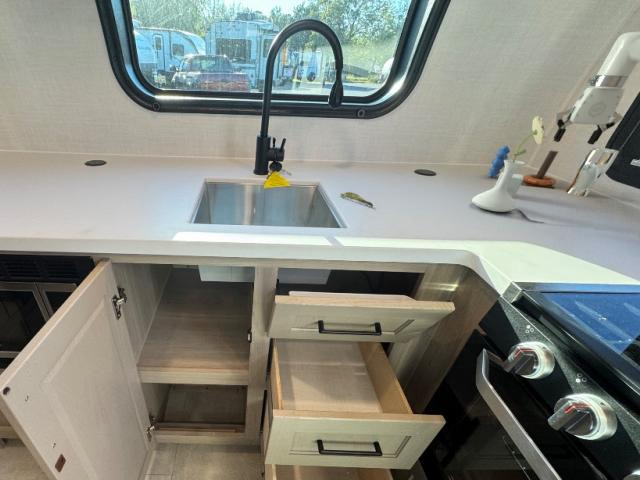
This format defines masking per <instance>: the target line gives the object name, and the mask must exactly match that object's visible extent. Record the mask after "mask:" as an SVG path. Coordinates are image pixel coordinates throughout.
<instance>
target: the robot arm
mask: <svg viewBox="0 0 640 480" xmlns="http://www.w3.org/2000/svg"><path fill="white" fill-rule="evenodd" d="M639 62H640V31H629V32H624V33H622V34H620V35H619V36H618V38H617V39H616V40H615V42H614V44H613V45H612V47H611V49H610V51H609V52H608V54H607V56H606V58H605V60H604V61H603V63H602V65H601V66H600V68H599V70H598V72H597V74H596V75H595V76H594V77H590V78H588V80H587V82H586V83H587V84H590V85H589V87H586V88H585V89H584V91H583V92H582V93H581V95H580V96H579V97H578V99H577V100H576V102H575V103H574V105H573V106H572V107H571V108H569V109H565V110H563V111H560V112H557V113H556V115H555V116H556V117H555V119H556V121H555V123H556V125H557V128H558V129H557V130H556V132H555V134H554V136H553V141H554V142H556V143H559V142H560V141H561V140H562V138H563V137H564V135H565V133H566V131H567V127H569V126H571V125H573V124H578V125H592V126H596V129H595V130H593V132H592V133H591V135H590V137H589V139H588V140H587V143H586V144H588V145H595V143H596V142H598V141H599V139H600V138H601V136H602V135H603V133H604V132H606V131H607V130H608V129H611V128H612V127H614V126H615V125H617V123H619V122H620V121H621V120H622V119H624V117H623V116H622V115H621V114H620V113H618V112H617V108H618V106H619V104H620V102H621V101H622V98H623V95H624V93H625V90H626V89H625V88H623V87H624V85H626V82H627V81H628V79H629V78H630V76H631V74H632V73H633V71H634V70H635V68H636V66H637V65H638V63H639ZM566 115H567V117H566V120H563V117H564V116H566Z"/></svg>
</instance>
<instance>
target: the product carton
mask: <svg viewBox="0 0 640 480" xmlns="http://www.w3.org/2000/svg"><path fill="white" fill-rule="evenodd" d="M503 173H504V171H502V172H500V175H499V176H498V179H497V180H496V183H495V184H494V187H496V186H497V185H498V183H499V182H500V180H501V178H502V175H503ZM523 178H524V174H520V173H514V174H513V176H512V177H511V179H510V181H509V183H508V186H507V191H508V193H509V194H510V196H511V197H512V198H513V199H514V198H515V196H516V195H517V192H518V190H519V188H520V187H521V186H522V185H521V183H522V181H523Z"/></svg>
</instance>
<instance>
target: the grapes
mask: <svg viewBox="0 0 640 480" xmlns="http://www.w3.org/2000/svg"><path fill="white" fill-rule="evenodd" d="M498 150H499V151H498V152H496V153H495V156H496V157H495V158H493V159H492V160H491V165H492V166H491V167H489V168H488V177H489V178H495V177H497V176H498V175H499V174H501V170H502V169H503V168H505V163H504V160H511V159H510V158H509V157H508V154H509V153H511V150H510V148H509V146H508V145H503V146H501V147H500V148H499V149H498Z"/></svg>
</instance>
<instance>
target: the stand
mask: <svg viewBox="0 0 640 480" xmlns="http://www.w3.org/2000/svg"><path fill="white" fill-rule="evenodd" d="M558 153H559V151H558V150H551V149H550V150H549V151H548V153H547V155H546V157H545V159H544V161H543V162H542V164H541V165H540V167H539V169H538V171H537V173H536V174H535V175H536V176H535V178H536V179H541V180H542V179H543V178H544V176H546V175H547V172H548V171H549V170H550V168H551V165H552V164H553V162H554V161H555V160H556V159H555V158H556V157H557V155H558ZM520 186H523V187H532V188H542V189H548V190H549V189H551V190H555V189H556V186H554V185H552V186H541V185H535V184H530V183H527V182H525V181H524V180H523V181H522V183H521V185H520Z"/></svg>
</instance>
